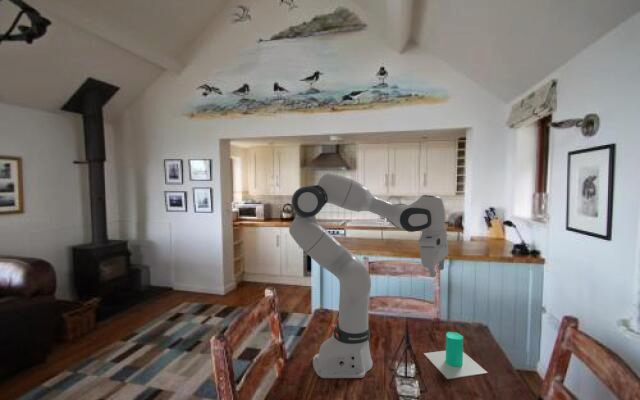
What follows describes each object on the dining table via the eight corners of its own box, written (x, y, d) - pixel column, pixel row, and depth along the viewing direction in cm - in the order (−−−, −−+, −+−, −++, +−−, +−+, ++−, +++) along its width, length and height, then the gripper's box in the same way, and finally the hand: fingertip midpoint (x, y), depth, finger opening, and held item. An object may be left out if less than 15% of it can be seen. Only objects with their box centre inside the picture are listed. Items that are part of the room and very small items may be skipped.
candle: (464, 368, 115) (465, 336, 114) (447, 366, 116) (447, 334, 116) (460, 358, 121) (461, 328, 120) (444, 357, 122) (444, 327, 121)
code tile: (447, 379, 109) (447, 378, 109) (423, 354, 125) (423, 353, 125) (487, 373, 113) (487, 372, 112) (459, 349, 128) (459, 348, 128)
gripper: (435, 232, 130) (437, 265, 130) (416, 242, 114) (419, 280, 114) (451, 232, 126) (453, 266, 126) (433, 243, 110) (437, 282, 110)
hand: (437, 273), depth 120 cm, fingers open, 8 cm apart
